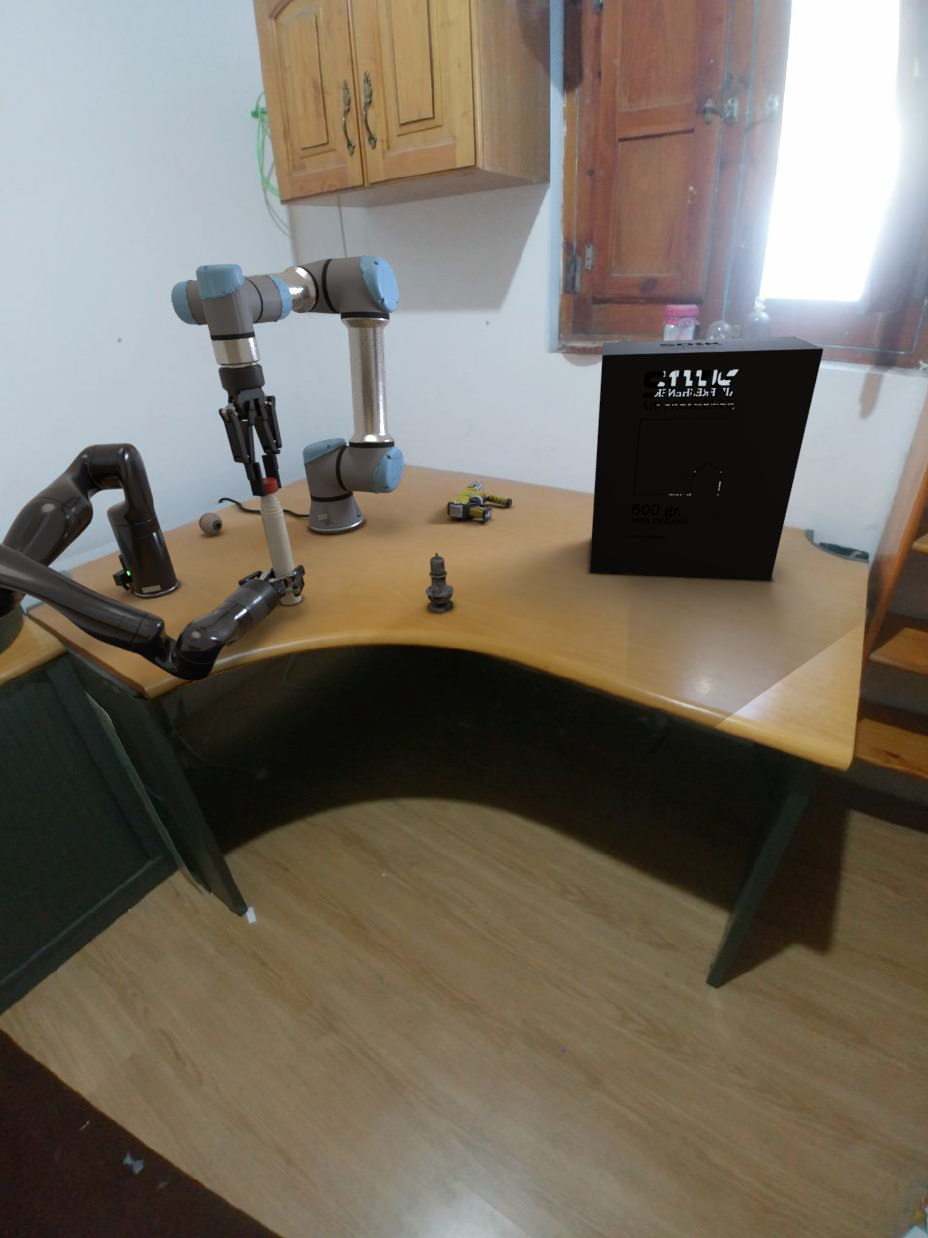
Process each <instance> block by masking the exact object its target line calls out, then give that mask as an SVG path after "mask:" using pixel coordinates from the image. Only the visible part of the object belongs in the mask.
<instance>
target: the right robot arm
mask: <svg viewBox="0 0 928 1238" xmlns="http://www.w3.org/2000/svg"><path fill="white" fill-rule="evenodd" d="M390 265H391V264H389V262H388V261H387V260H386V259H385V258H384V257H381V256H379V255H358V256H357V255H356V256H348V257H338V258H336V257H335V258H323V259H319V260H316V261H315V260H314V261H312V262H307V263H304V264H299V265H292V266H288V267H287V268H285V269H284V271H283V272H272V273H271V272H270V273H262V274H261V273H260V274H250V275H244V274H243V269H242V267H241V266H240V265H239V264H237V263H221V264H220V263H219V264H206V265H200V266H197V268H196V270H195V276H196V279H194V280H193V279H187V280H183V281H178V282H177V283H175V285H174V286H173V287H172V289H171V294H170V301H171V303H172V307H173V311H174V313H175V314H176V316H177V317H178V318H179V319H180V320H181V321H182V322H183V323H185V324H187V325H193V326H194V325H195V326H204V325H205V326H206V325H207V328H208V332H209V338H210V341H211V345H212V349H213V353H214V357H215V361H216V364H217V365H219V368H218V370H217V372H218V375H219V380H220V384H221V388H222V389H223V390H224V391H225V392H226V393H227V405H226V406H225V407H224V408H221V407H219V409H218V415H219V417H220V418H221V420H222V422H223V425H224V429H225V432H226V436H227V439H228V440H227V441H228V444H229V448H230V452H231V455H232V459H233V462H235V463H239V464H243V466H244V471H245V475H246V479H247V480H248V482H249V485H250V489H251V494H252V496H253V497H260V496H262V497H265V496H267V495H266V490H265V486H264V481H263V478H264V477H263V473H262V472H263V471H262V469H261V468H262V467H261V464H260V463H261V462H259V461H257V460H256V448H255V437H254V431H255V432H256V435H257V438H258V441H259V444H260V447H261V449H262V452H263V453H264V454H262V455H261V460H262V464H263V469H264V474H265V478H267V477H273V478H276V480H277V484H278V489H283V488H282V487H283V486H282V481H281V477H280V471H279V468H280V467H279V462H278V457H277V456H278V455H280V454H281V452H282V451H281V449H282V447H283V441H282V437H281V431H280V425H279V421H278V415H277V409H276V401H277V400H276V399H277V398H276V395H269V394H268V395H267V394H265V391H264V390H263V387H264V386H265V385H266V381H265V375H264V371H263V366H262V365H261V363H259V362H260V361H261V355H260V350H259V346H258V341H257V336H256V333H255V327H254V325H257V324H265V323H276V322H278V321H282V320H285V319H286V318H287V317H288V316H289V315H290V313H291V311H292V312H294V313H297V314H306V313H316V314H329V315H339V316H340V322H341V323H342V324H343V325H344V326H345V327H346V329H347V338H348V339H347V340H348V356H349V370H350V388H351V403H352V404H351V405H352V419H353V434H352V435H351V436H350V438H348V445H347V441H346V439H345V438H342V437H334V438H328V439H323V440H320V441H319V440H318V441H316V442H313V443H309V444H308V445H306V446H305V447H304V448H303V450H302V457H303V458H302V460H303V467H304V471H305V477H306V481H307V486H308V492H309V498H310V507H309V513H308V514H306V513H304V514H303V513H296V512H294V511H293V510H290V509H286V508H284V509H283V508H282V509H283V512H284V513H287V514H290V515H291V516H293V517H296V518H308V521H307V522H308V523H307V524H308V528H309V529H308V530H310V531H311V532H312V533H314V534H317V535H323V536H324V535H325V536H327V535H329V536H331V535H339V534H340V535H341V534H345V533H350V532H353V531H355V530H357V529H359V528H361V527H362V526H363V525H364V523H365V519H364V514H363V512H362V510H361V508H360V505H359V504H358V501H357V500H356V498H355V495H354V492H359V493H371V494H372V493H373V494H375V495H378V494H390V493H392V492H394V491H395V490H396V489H397V488H398V486H399V485H400V483H401V481H402V478H403V475H404V467H405V459H404V457H405V456H404V455H403V450H401V449H400V448H398V446H397V447H396V446H395V438H394V437H393V436H392V435H391V434H390V433H389V423H388V421H389V420H388V398H387V396H388V395H387V375H386V351H385V349H386V348H385V329H386V327H387V326H388V325H389V324H390V322H391V318H390V316H391V315H390V314H391V313H393V312H395V311H396V310H397V308H398V304H399V289H398V283H397V279H396V276H395V273H394V271H393V269H392V267H391V266H390ZM223 501H228V502H231V503H233V504H235V505H237V506H238V508H239V509H240V510H241V511H243V512H247V513H252V514H261V512H260V511H261V509H250V508H246V507H243V505H242V503H241V502H240V501H237V500H235V499H232V498H230V497H221V498H219V500H218V504H221V503H222V502H223Z"/></svg>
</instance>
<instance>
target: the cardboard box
mask: <svg viewBox="0 0 928 1238" xmlns="http://www.w3.org/2000/svg"><path fill="white" fill-rule="evenodd" d="M601 353H602V355H601V371H600V388H599V389H600V390H599V405H598V423H597V439H596V454H595V455H596V456H595V472H594V473H595V474H594V487H593V488H594V491H593V505H592V506H593V509H592V526H591V540H590V541H591V543H590V559H589V574H614V575H637V576H638V575H641V576H660V577H663V576H664V577H686V578H708V579H709V578H710V579H730V580H731V579H733V580H735V579H736V580H754V581H755V580H756V581H757V580H758V581H772V577H773V573H774V569H775V565H776V560H777V557H778V556H777V555H778V551H779V548H780V543H781V537H782V534H783V529H784V526H785V520H786V515H787V511H788V507H789V502H790V499H791V495H792V489H793V486H794V481H795V476H796V472H797V467H798V464H799V459H800V454H801V451H802V445H803V441H804V436H805V433H806V428H807V424H808V419H809V415H810V412H811V411H810V410H811V406H812V403H813V397H814V392H815V388H816V384H817V380H818V376H819V371H820V366H821V361H822V359H823V358H822V357H823V353H824V347H821V346H818V345H816V344H813V343H811V342H808V341H805V340H804V339H801V338H798V337H796V336H771V337H769V336H768V337H766V336H765V337H737V338H708V339H707V338H706V339H679V340H678V339H675V340H673V339H672V340H649V341H648V340H645V341H617V342H616V341H615V342H614V341H613V342H603V343H602V352H601ZM736 370H737V371H736ZM677 371H678V375H677V376H676V377H675V382H674V383H675V385H672V383H673V376H671V374H672V373H674V372H677ZM685 371H689V372H690V374H689V382H691V385H687V379H688V377H687V375H685ZM699 371H701V373H700V375H698V372H699ZM715 371H716V375H715ZM733 371H736V373H734V375H729V373H730V372H733ZM714 375H715V376H716V377H715V380H714ZM719 377H720V378H719ZM700 381H701V382H705V385H700ZM713 381H715V382H714V383H713ZM719 381H729V382H728V384H725V385H724V384H720V383H719ZM660 383H663V384H664V385H660Z"/></svg>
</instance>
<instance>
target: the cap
mask: <svg viewBox="0 0 928 1238" xmlns="http://www.w3.org/2000/svg"><path fill="white" fill-rule="evenodd" d="M263 481H264V486H265V490H266V495H267V494H272V493H275V492H276V493H277V492H278V491H280V490H279V489H278V484H277V480H276V478H273V477H267V478H266V477H263Z"/></svg>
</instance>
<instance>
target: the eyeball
mask: <svg viewBox="0 0 928 1238" xmlns="http://www.w3.org/2000/svg"><path fill="white" fill-rule="evenodd" d="M198 526H199V528H200V530H201V531H202V532H203V533H204V534H206V535H212V536H214V535H216V534H218V533H220V532H221V531H222V529H223V520H222V518H221V517H220V515H218V514H217V513H214V512H206V513H203V515H201V516H200V517H199V520H198Z"/></svg>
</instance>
